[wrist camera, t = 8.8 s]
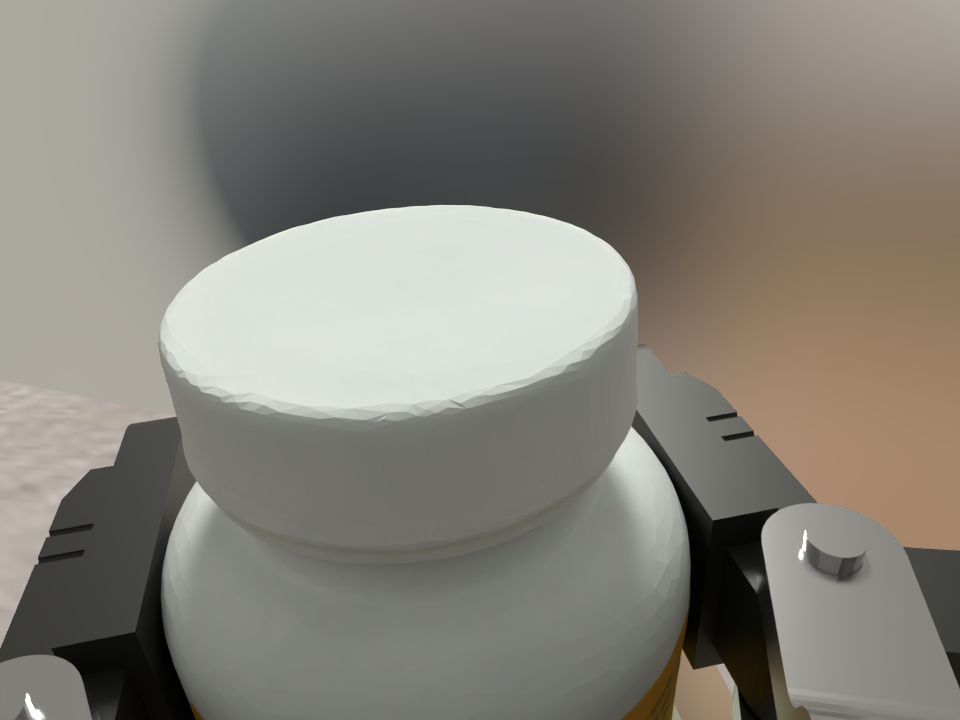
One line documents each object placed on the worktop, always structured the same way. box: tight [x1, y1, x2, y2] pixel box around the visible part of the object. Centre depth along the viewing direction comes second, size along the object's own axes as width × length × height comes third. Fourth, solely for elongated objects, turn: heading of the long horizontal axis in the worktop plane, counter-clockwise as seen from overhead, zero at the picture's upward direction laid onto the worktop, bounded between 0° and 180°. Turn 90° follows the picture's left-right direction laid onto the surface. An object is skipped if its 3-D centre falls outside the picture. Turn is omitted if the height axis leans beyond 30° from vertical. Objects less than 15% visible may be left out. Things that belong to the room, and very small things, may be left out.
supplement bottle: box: [158, 205, 691, 720], centre depth 9 cm, size 5×5×10 cm
